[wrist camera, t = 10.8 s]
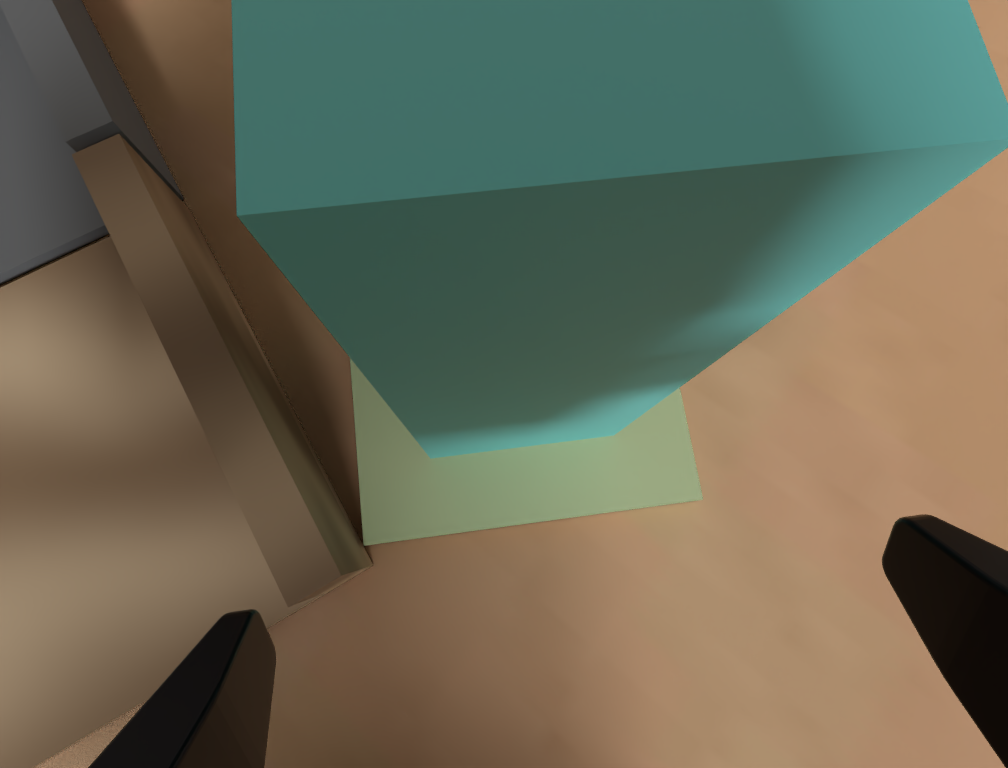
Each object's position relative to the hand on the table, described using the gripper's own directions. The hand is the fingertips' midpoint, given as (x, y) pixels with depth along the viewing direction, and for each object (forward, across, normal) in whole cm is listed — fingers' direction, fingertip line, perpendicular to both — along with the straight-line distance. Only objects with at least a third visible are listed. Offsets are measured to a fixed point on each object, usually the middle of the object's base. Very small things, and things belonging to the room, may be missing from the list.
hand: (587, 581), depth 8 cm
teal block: (+9, 0, +1) cm, 9 cm away
